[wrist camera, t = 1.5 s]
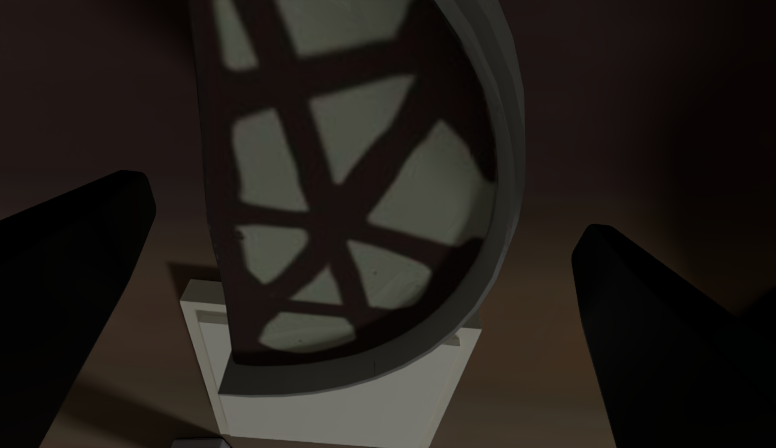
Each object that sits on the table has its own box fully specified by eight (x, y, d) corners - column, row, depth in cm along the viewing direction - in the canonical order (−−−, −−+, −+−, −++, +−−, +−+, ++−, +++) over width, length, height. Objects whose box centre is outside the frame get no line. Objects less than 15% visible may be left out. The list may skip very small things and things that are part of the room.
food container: (426, 206, 19) (443, 427, 12) (291, 186, 19) (219, 405, 11) (529, -144, 12) (777, -151, 4) (301, -197, 11) (78, -324, 3)
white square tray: (477, 307, 24) (483, 337, 22) (426, 430, 34) (427, 456, 33) (190, 279, 23) (175, 308, 22) (226, 414, 33) (218, 440, 32)
